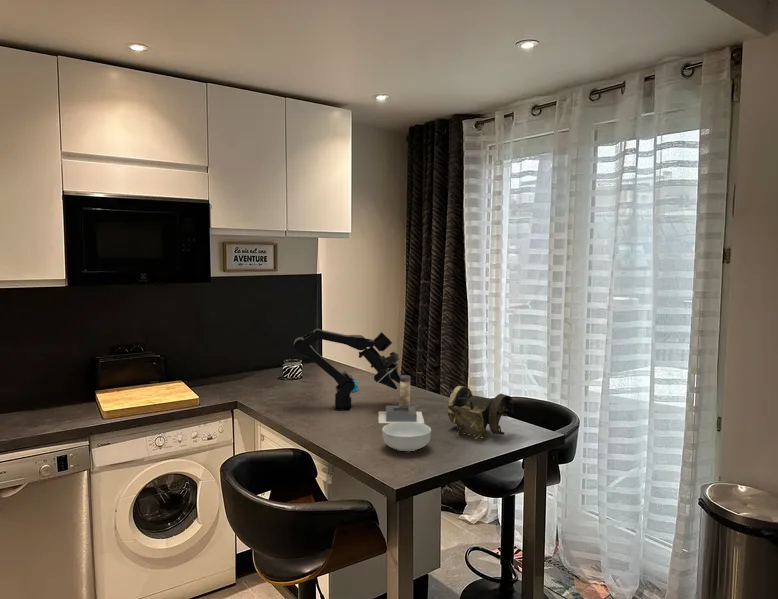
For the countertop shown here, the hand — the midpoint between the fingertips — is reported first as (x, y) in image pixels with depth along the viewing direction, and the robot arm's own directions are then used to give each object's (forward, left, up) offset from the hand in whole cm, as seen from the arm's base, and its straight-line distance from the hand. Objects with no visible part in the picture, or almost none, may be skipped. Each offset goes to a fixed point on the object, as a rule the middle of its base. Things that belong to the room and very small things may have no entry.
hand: (399, 386), depth 236 cm
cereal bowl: (+1, -46, -11) cm, 47 cm away
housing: (0, -12, -10) cm, 15 cm away
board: (0, -12, -10) cm, 16 cm away
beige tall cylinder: (+2, -1, -10) cm, 11 cm away
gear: (-22, +32, -11) cm, 41 cm away
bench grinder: (+28, -30, -11) cm, 42 cm away
